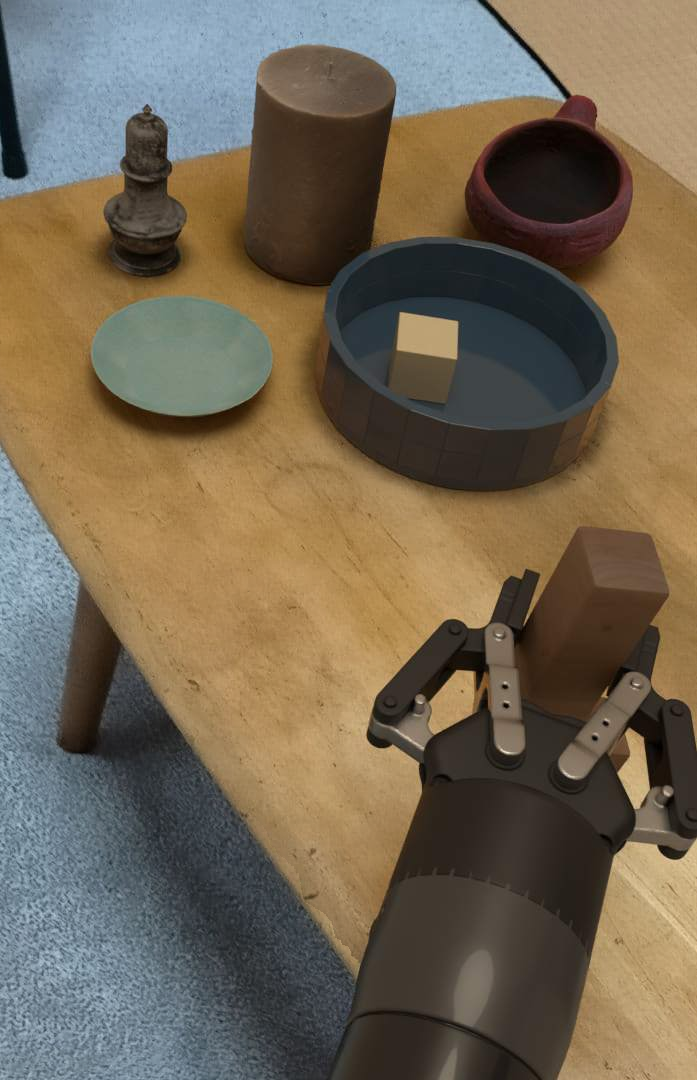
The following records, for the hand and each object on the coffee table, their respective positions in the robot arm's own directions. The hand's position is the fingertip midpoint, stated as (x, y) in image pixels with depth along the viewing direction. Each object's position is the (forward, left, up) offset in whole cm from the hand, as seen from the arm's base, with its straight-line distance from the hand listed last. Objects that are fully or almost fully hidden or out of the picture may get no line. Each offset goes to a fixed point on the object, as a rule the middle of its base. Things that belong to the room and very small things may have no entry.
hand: (581, 602), depth 55 cm
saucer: (+28, -20, -15) cm, 38 cm away
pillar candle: (+26, -38, -15) cm, 49 cm away
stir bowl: (+11, -28, -14) cm, 34 cm away
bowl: (+11, -49, -15) cm, 53 cm away
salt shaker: (+36, -31, -15) cm, 50 cm away
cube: (+14, -27, -14) cm, 33 cm away
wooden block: (-1, +3, -9) cm, 10 cm away
